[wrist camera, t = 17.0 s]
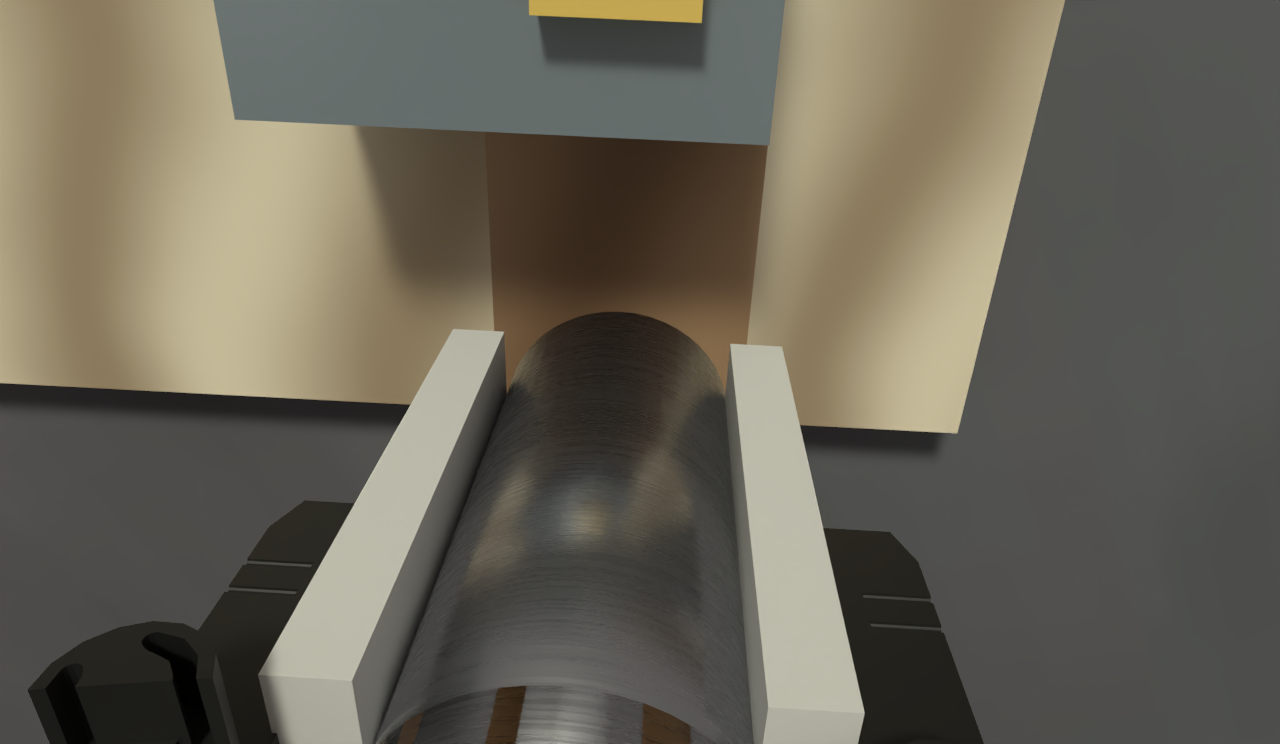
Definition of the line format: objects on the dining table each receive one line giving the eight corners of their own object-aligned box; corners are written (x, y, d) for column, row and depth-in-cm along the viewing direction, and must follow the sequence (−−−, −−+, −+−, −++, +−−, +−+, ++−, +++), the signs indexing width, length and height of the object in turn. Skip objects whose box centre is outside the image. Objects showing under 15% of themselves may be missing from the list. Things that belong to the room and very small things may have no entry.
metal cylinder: (512, 493, 14) (293, 1218, 6) (506, 305, 13) (202, 952, 5) (717, 506, 14) (760, 1255, 6) (736, 318, 13) (825, 999, 5)
